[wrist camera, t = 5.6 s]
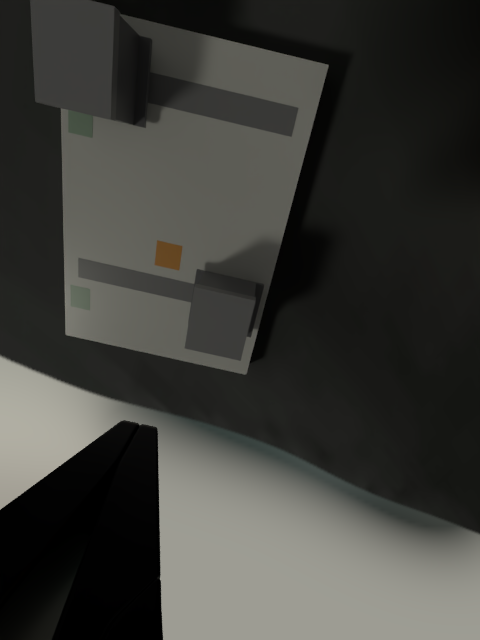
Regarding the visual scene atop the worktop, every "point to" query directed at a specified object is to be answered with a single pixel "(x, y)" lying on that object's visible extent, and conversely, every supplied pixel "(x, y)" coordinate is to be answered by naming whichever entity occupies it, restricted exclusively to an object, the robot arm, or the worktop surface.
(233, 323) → the breaker
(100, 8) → the block
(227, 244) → the breaker board
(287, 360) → the worktop surface
